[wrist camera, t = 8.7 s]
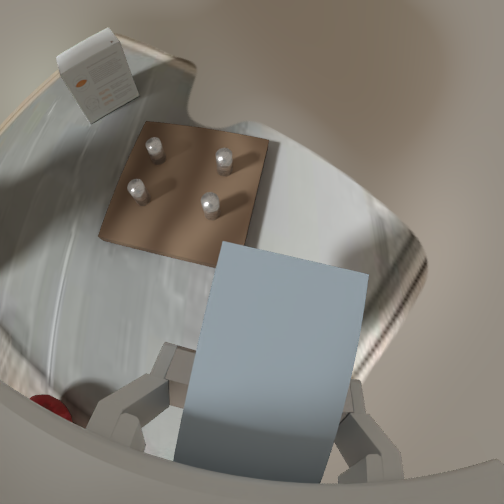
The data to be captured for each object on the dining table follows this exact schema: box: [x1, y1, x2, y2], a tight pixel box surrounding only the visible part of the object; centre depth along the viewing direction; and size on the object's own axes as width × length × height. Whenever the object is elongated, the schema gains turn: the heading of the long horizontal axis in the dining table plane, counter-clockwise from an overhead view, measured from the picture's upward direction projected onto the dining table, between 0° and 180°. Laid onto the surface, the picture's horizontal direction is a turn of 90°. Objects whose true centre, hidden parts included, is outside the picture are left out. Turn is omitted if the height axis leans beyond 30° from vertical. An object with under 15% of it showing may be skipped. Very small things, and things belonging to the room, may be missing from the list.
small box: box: [56, 27, 139, 124], centre depth 30 cm, size 8×6×10 cm
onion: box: [30, 395, 73, 423], centre depth 20 cm, size 6×6×8 cm
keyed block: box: [173, 241, 369, 484], centre depth 13 cm, size 4×7×10 cm, turn 168°
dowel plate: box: [98, 121, 269, 268], centre depth 29 cm, size 15×15×4 cm
